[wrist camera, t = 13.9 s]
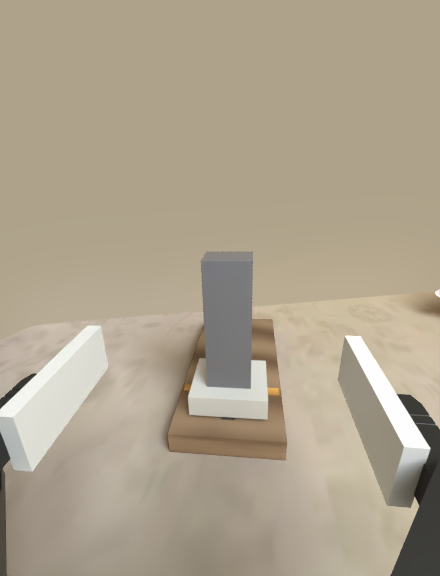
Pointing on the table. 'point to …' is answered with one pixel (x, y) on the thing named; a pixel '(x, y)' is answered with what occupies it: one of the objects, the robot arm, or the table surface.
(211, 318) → the slider
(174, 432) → the board
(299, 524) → the table surface
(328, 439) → the table surface
